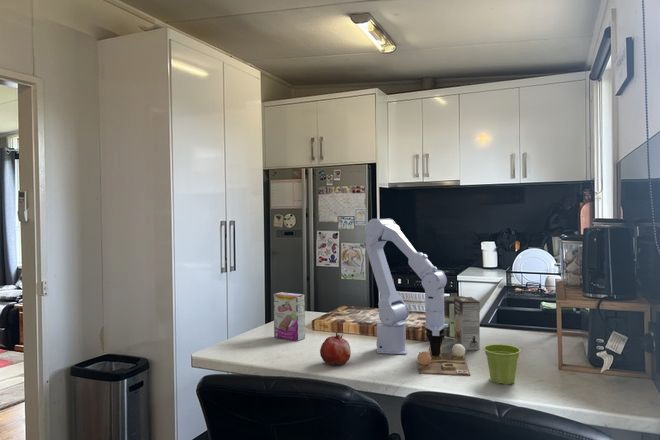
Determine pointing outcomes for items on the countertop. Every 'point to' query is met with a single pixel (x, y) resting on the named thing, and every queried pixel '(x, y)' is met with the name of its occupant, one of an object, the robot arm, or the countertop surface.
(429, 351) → the terracotta ball
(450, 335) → the coffee can
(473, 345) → the coffee box
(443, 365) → the board
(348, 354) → the fruit
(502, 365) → the plant pot
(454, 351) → the cream ball
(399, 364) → the countertop surface
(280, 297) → the candy bar box
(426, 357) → the terracotta ball
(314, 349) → the countertop surface
